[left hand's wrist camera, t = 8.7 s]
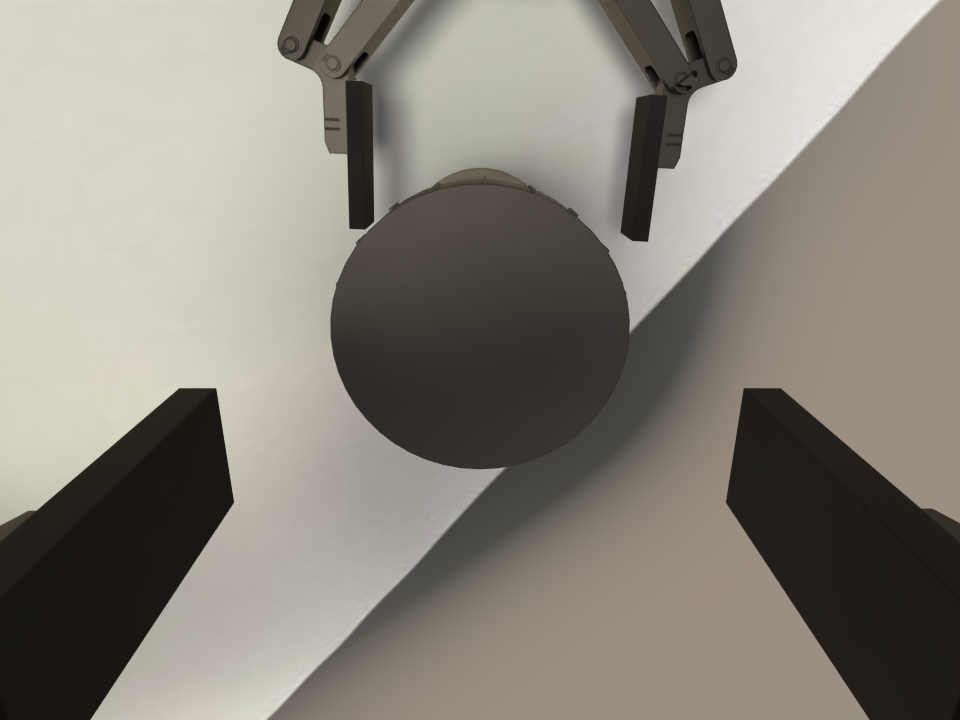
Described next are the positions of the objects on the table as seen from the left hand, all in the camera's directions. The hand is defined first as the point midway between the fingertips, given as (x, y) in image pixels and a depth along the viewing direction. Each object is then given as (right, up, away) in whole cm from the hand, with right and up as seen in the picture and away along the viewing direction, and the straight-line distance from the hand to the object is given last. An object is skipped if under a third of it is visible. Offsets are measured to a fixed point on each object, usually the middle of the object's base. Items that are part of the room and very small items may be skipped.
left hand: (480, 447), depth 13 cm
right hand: (+1, +8, +18) cm, 20 cm away
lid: (0, +3, +7) cm, 8 cm away
